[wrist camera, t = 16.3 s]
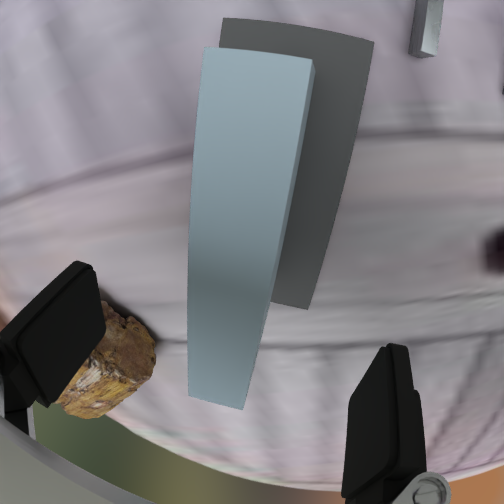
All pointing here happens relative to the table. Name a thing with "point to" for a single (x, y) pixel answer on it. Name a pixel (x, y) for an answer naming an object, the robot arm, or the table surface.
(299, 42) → the mat
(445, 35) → the table surface
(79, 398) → the petrified wood
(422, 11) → the rack
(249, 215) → the panel
